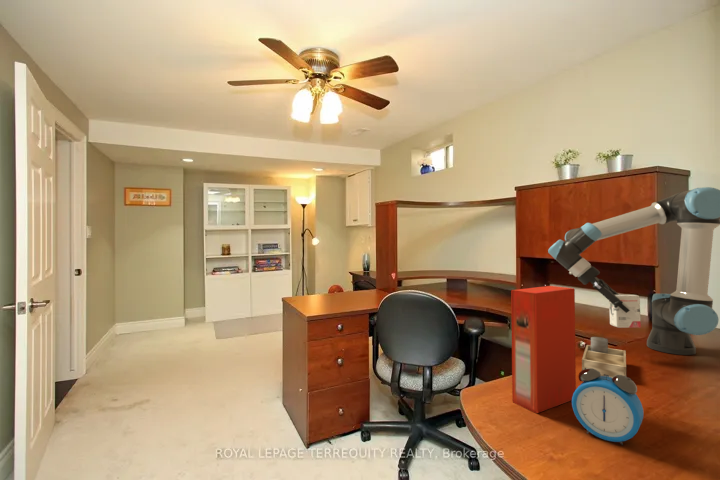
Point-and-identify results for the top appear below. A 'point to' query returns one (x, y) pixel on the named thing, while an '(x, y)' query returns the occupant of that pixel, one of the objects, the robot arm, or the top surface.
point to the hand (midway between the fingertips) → (635, 316)
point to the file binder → (543, 347)
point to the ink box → (621, 318)
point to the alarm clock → (607, 405)
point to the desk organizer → (604, 358)
